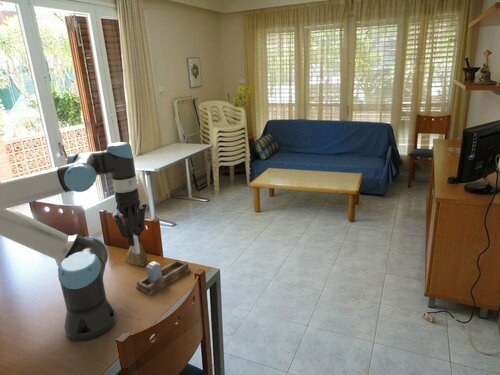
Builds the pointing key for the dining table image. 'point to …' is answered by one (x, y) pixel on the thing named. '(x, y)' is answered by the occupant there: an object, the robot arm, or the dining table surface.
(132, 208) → the robot arm
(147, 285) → the wooden tray
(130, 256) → the rock
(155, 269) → the rider
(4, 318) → the dining table surface
